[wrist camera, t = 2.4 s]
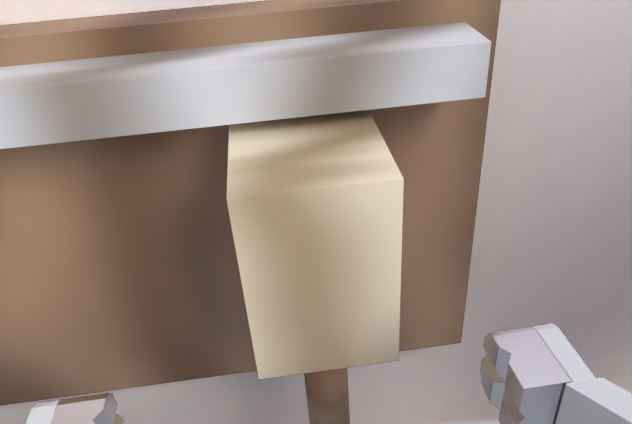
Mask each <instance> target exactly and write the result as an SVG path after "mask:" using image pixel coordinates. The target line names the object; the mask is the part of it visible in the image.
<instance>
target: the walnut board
mask: <svg viewBox="0 0 632 424" xmlns="http://www.w3.org/2000/svg"><path fill="white" fill-rule="evenodd" d="M500 2H501V0H269V1H258V2H247V3H237V4H226V5H215V6H204V7H193V8H183V9H172V10H161V11H150V12H140V13H129V14H118V15H107V16H96V17H86V18H75V19H64V20H53V21H42V22H32V23H21V24H10V25H0V405H7V404H14V403H22V402H29V401H36V400H44V399H51V398H58V397H66V396H73V395H80V394H88V393H95V392H102V391H110V390H117V389H125V388H132V387H139V386H147V385H154V384H161V383H169V382H176V381H183V380H191V379H198V378H206V377H213V376H220V375H228V374H235V373H242V372H250V371H257V366H256V360H255V355H254V349H253V344H252V338H251V332H250V327H249V321H248V316H247V310H246V305H245V299H244V294H243V288H242V282H241V277H240V271H239V266H238V260H237V255H236V249H235V244H234V238H233V232H232V227H231V221H230V216H229V210H228V205H227V170H228V140H229V125H231V124H240V123H250V122H259V121H268V120H278V119H287V118H296V117H306V116H315V115H325V114H334V113H343V112H353V111H362V110H369V112H370V114H371V116H372V118H373V119H374V121H375V123H376V125H377V127H378V129H379V131H380V133H381V135H382V137H383V139H384V141H385V143H386V145H387V147H388V149H389V151H390V153H391V155H392V157H393V159H394V161H395V163H396V165H397V166H398V168H399V170H400V172H401V174H402V176H403V178H404V188H403V223H402V258H401V292H400V327H399V351H404V350H412V349H419V348H426V347H434V346H441V345H448V344H456V343H461V336H462V328H463V319H464V311H465V302H466V293H467V285H468V276H469V268H470V259H471V251H472V242H473V233H474V225H475V216H476V208H477V199H478V191H479V182H480V173H481V165H482V156H483V148H484V139H485V131H486V122H487V113H488V105H489V96H490V88H491V79H492V71H493V62H494V53H495V45H496V36H497V28H498V19H499V10H500Z"/></svg>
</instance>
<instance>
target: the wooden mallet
mask: <svg viewBox="0 0 632 424" xmlns="http://www.w3.org/2000/svg"><path fill="white" fill-rule="evenodd" d="M403 188H404V178H403V176H402V174H401V172H400V170H399V168H398V166H397V165H396V163H395V161H394V159H393V157H392V155H391V153H390V151H389V149H388V147H387V145H386V143H385V141H384V139H383V137H382V135H381V133H380V131H379V129H378V127H377V125H376V123H375V121H374V119H373V118H372V116H371V114H370V112H369V110H362V111H353V112H343V113H334V114H325V115H315V116H306V117H296V118H287V119H278V120H268V121H259V122H250V123H240V124H231V125H229V140H228V170H227V205H228V210H229V216H230V221H231V227H232V232H233V238H234V244H235V249H236V255H237V260H238V266H239V271H240V277H241V282H242V288H243V294H244V299H245V305H246V310H247V316H248V321H249V327H250V332H251V338H252V344H253V349H254V355H255V360H256V366H257V371H258V377H259V379H267V378H274V377H281V376H289V375H296V374H303V373H304V376H305V385H306V394H307V403H308V412H309V421H310V424H350V418H349V396H348V375H347V367H354V366H362V365H369V364H376V363H384V362H391V361H398V360H399V327H400V292H401V258H402V223H403Z"/></svg>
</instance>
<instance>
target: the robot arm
mask: <svg viewBox="0 0 632 424" xmlns="http://www.w3.org/2000/svg"><path fill="white" fill-rule="evenodd" d="M484 348H485V350H486V352H487V355H486V356H485V357H484V358H483V359H482V360H481V378H482V384H483V387H484V390H485V393H486V395H487V397H488V399H489V401H490V403H492V404H493V405H495V406H496V407H498V408H499V409H500V415H499V421H500V423H501V424H632V393H631V392H629V391H627V390H625V389H623V388H621V387H620V386H618V385H616V384H614V383H612V382H610V381H609V380H607V379H605V378H603V377H602V378H596V377H595V376H594V374H593V373H592V372H591V370H590V369H589V368H588V366H587V365H586V364H585V362H584V361H583V360H582V358H581V357H580V356H579V354H578V353H577V352H576V350H575V349H574V348H573V346H572V345H571V344H570V342H569V341H568V340H567V338H566V337H565V336H564V334H563V333H562V332H561V330H560V329H559V328H558V326H556V325H555V324H553V323H551V324H544V325H538V326H532V327H524V328H518V329H512V330H506V331H500V332H495V333H489V334H487V335H486V337H485V340H484ZM116 408H117V402H116V400H115V398H114V396H113V394H112V393H106V394H99V395H91V396H83V397H76V398H68V399H61V400H55V401H48V402H40V403H36V404H35V405H34V406H33V408H32V409H31V410H30V412H29V415H28V418H27V421H26V424H125V423H124V420H123V418H122V417H120V416H119V415H117V414H115V413H116Z"/></svg>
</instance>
